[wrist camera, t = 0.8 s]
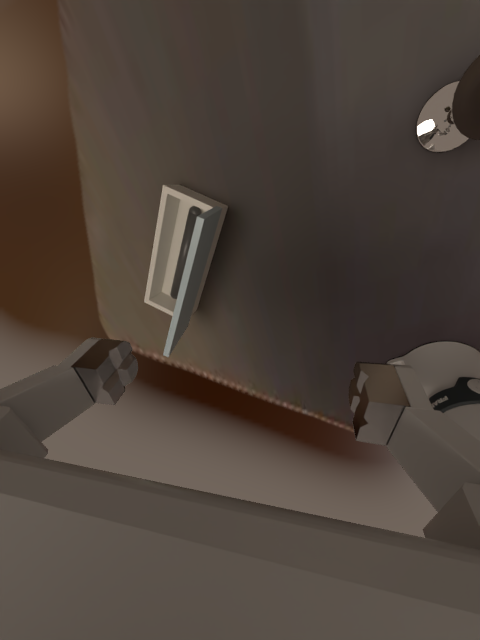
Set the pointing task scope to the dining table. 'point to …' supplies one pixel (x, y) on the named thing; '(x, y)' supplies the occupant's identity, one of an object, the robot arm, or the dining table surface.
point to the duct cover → (192, 274)
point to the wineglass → (452, 113)
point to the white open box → (177, 244)
